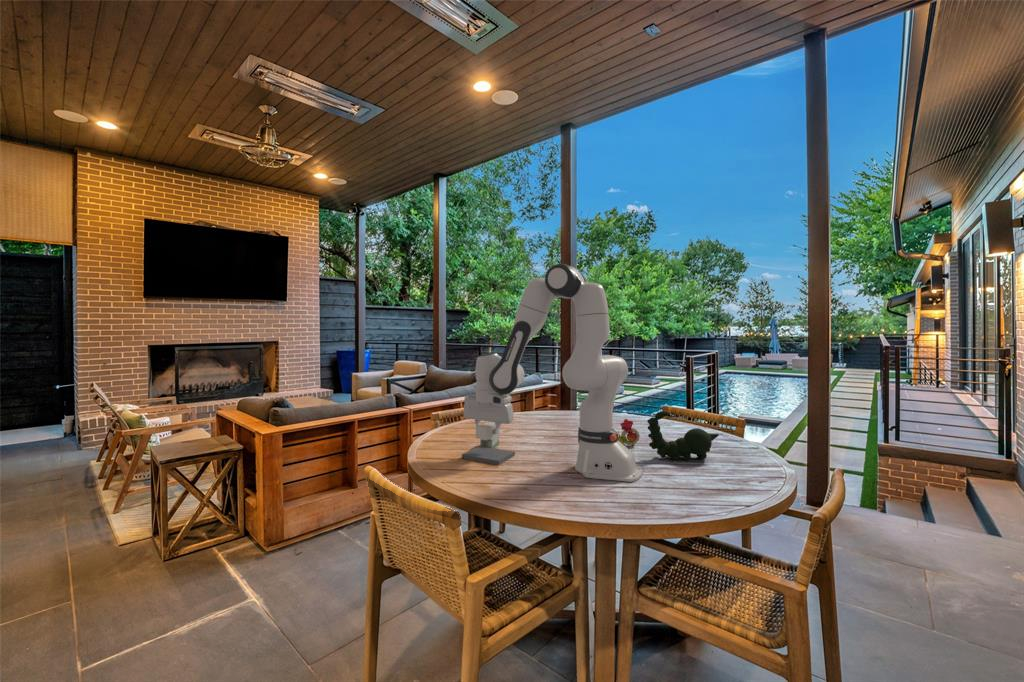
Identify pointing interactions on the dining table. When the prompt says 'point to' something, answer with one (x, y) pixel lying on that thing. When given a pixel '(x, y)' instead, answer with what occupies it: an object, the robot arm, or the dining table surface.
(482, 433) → the cream brick
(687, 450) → the toy figurine
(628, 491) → the dining table surface
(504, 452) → the base plate
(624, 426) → the bird rattle
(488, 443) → the sage brick
